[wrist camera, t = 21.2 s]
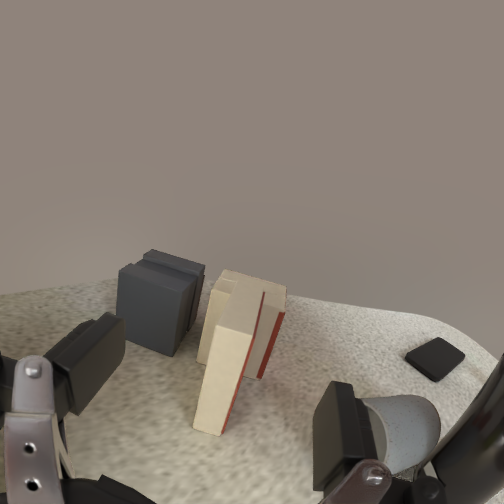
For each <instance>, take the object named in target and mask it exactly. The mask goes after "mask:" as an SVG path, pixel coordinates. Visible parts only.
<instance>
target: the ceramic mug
mask: <svg viewBox="0 0 504 504" xmlns="http://www.w3.org/2000/svg"><path fill="white" fill-rule="evenodd" d="M361 400H362V402H363V403H364V404H365V406H366V407H367V409H368V413H369V417H370V422H371V426H372V428H371V430H372V431H373V436H374V441H375V445H376V450H377V456H378V460H379V461H381V462H382V463H384V464H385V465H386V466H387V467H388V468H389V469H390V471H391V473H392V475H394V474H396V473H398V472H400V471H402V470H405V469H407V468H410V467H412V466H414V465H416V464H418V463H419V462H421V461H422V460H424V459H425V458H426V457H428V456H429V455H430V454H431V452H432V451H433V450H434V448H435V447H436V445H437V443H438V440H439V437H440V432H441V422H440V417H439V414H438V412H437V410H436V408H435V406H434V405H433V404H432V403H431V402H430V401H429V400H427V399H425V398H423V397H421V396H416V395H397V396H391V397H377V398H361Z"/></svg>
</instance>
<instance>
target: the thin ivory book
mask: <svg viewBox="0 0 504 504" xmlns="http://www.w3.org/2000/svg"><path fill="white" fill-rule="evenodd" d="M263 291H264V288H263V287H260V286H257V285H253V284H250V283H246V282H243V281H239V280H237V282H236V284H235V286H234V288H233V290H232V293H231V295H230V297H229V299H228V301H227V303H226V305H225V307H224V309H223V312H222V314H221V316H220V318H219V320H218V322H217V324H216V327H215V331H214V336H213V340H212V344H211V348H210V352H209V357H208V361H207V365H206V370H205V374H204V378H203V383H202V387H201V391H200V396H199V400H198V404H197V409H196V413H195V418H194V422H193V427H192V428H193V429H196V430H199V431H202V432H206V433H209V434H212V435H216V436H220V434H223V433H224V430H225V427H226V424H227V421H228V418H229V416H230V413H231V410H232V407H233V404H234V401H235V398H236V395H237V392H238V389H239V386H240V383H241V380H242V377H243V374H244V371H245V368H246V365H247V362H248V359H249V356H250V353H251V350H252V347H253V344H254V341H255V337H256V333H257V328H258V324H259V319H260V315H261V310H262V306H263V301H264V296H265V292H263Z"/></svg>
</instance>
